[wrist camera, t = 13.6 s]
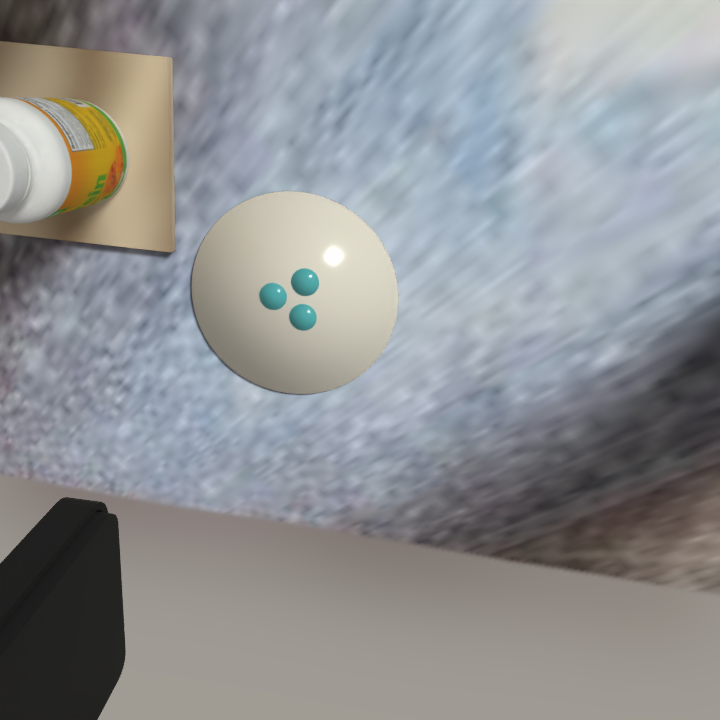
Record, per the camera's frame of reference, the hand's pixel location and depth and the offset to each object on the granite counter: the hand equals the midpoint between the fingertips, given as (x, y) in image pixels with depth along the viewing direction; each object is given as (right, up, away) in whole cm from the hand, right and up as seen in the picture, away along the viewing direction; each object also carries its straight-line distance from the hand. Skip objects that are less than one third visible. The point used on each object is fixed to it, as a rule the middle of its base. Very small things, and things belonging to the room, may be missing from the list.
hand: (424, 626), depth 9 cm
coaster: (-5, +7, +28) cm, 29 cm away
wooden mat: (-16, +15, +26) cm, 34 cm away
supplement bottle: (-16, +15, +26) cm, 34 cm away
